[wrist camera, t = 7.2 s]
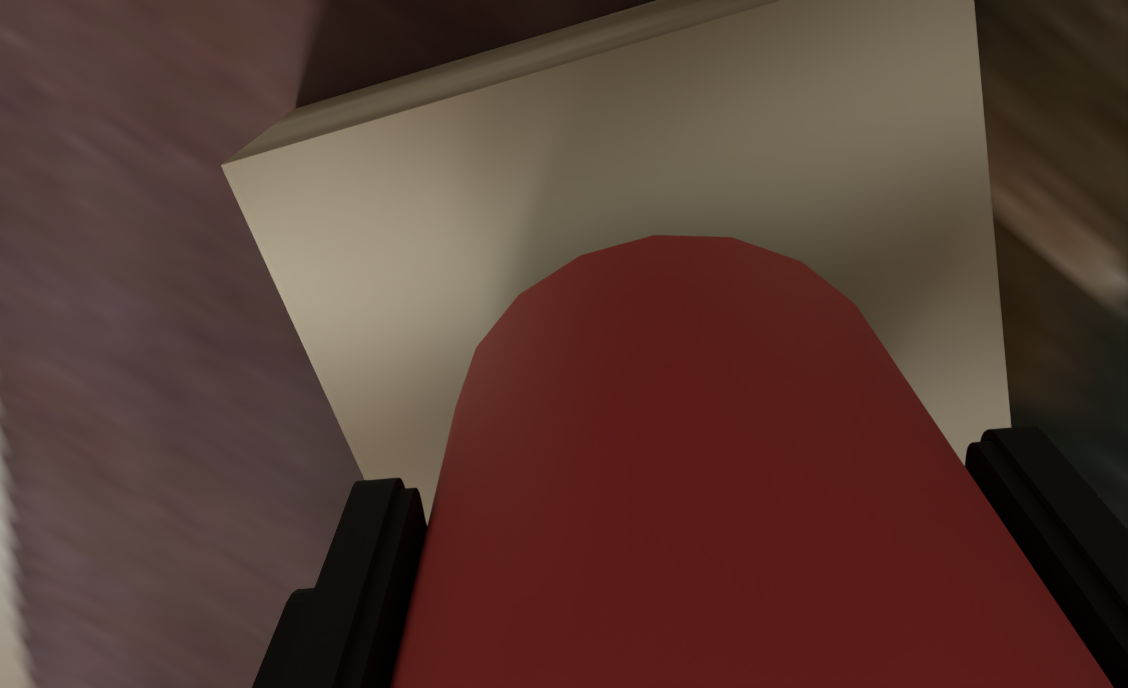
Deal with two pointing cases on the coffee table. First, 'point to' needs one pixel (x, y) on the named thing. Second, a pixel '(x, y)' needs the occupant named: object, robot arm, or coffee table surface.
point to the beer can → (712, 499)
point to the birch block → (636, 195)
